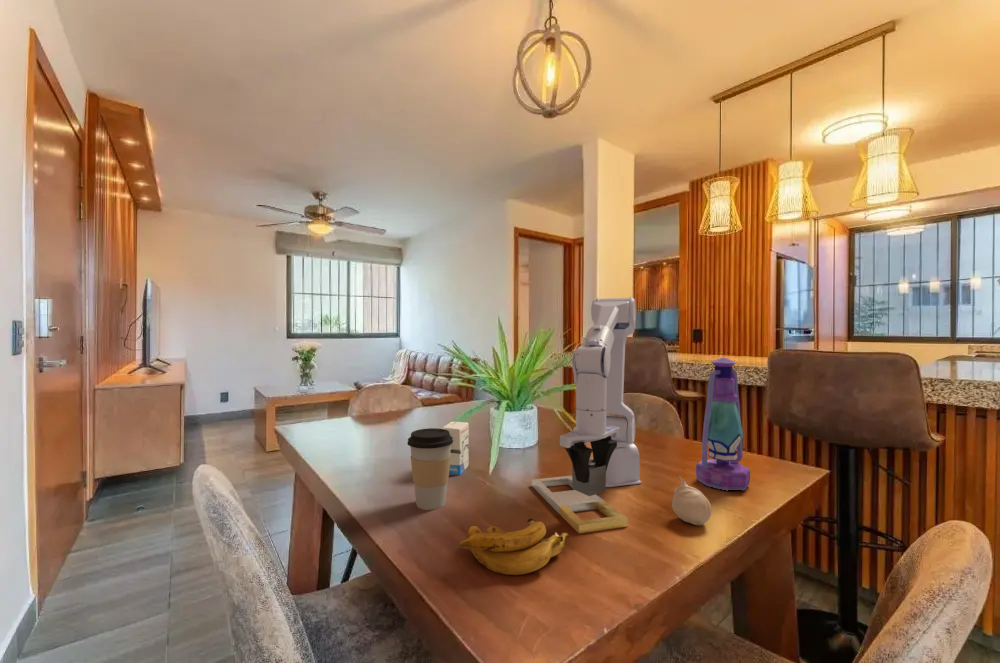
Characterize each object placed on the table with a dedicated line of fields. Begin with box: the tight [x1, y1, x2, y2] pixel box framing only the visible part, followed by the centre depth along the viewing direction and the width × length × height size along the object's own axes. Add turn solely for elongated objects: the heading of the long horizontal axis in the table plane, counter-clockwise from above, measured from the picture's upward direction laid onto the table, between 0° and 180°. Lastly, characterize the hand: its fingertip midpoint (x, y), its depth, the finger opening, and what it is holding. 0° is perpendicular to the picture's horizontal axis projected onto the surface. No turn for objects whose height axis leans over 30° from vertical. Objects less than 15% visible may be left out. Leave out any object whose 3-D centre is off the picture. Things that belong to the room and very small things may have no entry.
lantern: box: [695, 357, 751, 492], centre depth 102 cm, size 13×12×30 cm
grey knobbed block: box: [571, 458, 607, 496], centre depth 83 cm, size 4×4×6 cm
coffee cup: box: [407, 427, 453, 511], centre depth 89 cm, size 9×9×15 cm
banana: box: [459, 518, 570, 576], centre depth 71 cm, size 15×19×6 cm
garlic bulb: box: [671, 475, 713, 526], centre depth 82 cm, size 7×6×8 cm
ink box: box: [442, 421, 470, 476], centre depth 111 cm, size 9×5×12 cm, turn 168°
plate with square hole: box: [531, 475, 629, 535], centre depth 90 cm, size 10×24×2 cm, turn 16°
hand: (590, 478), depth 83 cm, fingers closed on grey knobbed block, 4 cm apart
